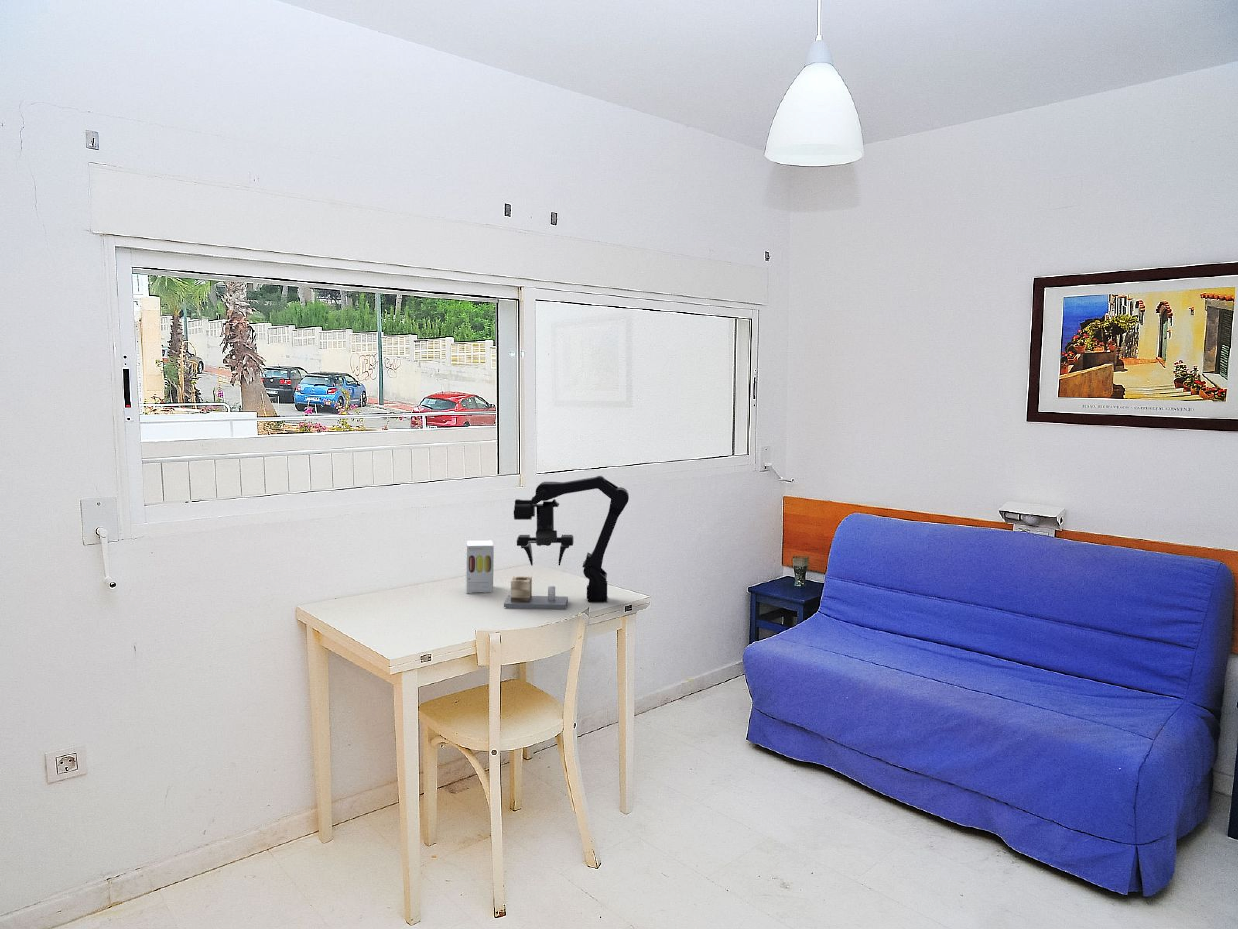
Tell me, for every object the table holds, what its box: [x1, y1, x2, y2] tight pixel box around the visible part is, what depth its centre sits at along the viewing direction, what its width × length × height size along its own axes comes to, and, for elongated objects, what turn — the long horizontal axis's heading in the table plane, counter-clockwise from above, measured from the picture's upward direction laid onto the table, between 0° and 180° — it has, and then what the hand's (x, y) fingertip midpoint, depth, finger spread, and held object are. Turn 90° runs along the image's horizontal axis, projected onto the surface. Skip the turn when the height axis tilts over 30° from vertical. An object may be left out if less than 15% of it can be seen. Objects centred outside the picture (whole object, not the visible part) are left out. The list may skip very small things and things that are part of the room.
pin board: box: [503, 585, 569, 610], centre depth 267 cm, size 20×10×6 cm, turn 89°
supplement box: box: [465, 540, 495, 594], centre depth 284 cm, size 10×9×17 cm
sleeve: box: [510, 576, 533, 602], centre depth 267 cm, size 6×6×7 cm
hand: (545, 565), depth 273 cm, fingers open, 9 cm apart
